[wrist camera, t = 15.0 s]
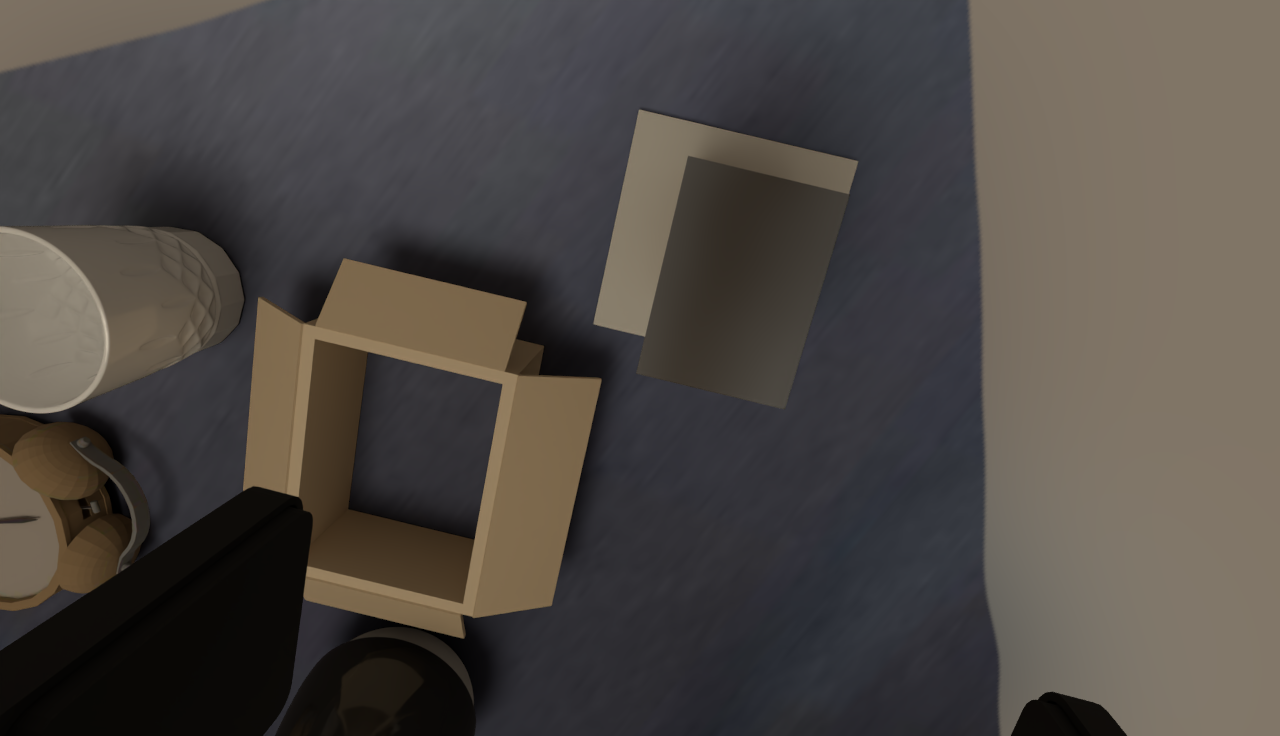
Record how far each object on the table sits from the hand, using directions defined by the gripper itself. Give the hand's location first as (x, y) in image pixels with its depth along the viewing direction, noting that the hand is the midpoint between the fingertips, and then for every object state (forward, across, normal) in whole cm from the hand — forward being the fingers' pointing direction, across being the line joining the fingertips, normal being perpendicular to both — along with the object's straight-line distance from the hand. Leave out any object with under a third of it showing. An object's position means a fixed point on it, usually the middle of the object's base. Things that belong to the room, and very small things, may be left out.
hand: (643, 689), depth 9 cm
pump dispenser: (+29, +10, +26) cm, 41 cm away
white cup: (+29, +27, +5) cm, 40 cm away
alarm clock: (+29, +34, +20) cm, 49 cm away
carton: (+29, +12, +10) cm, 33 cm away
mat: (+29, -1, -4) cm, 29 cm away
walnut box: (+28, -1, -4) cm, 28 cm away
